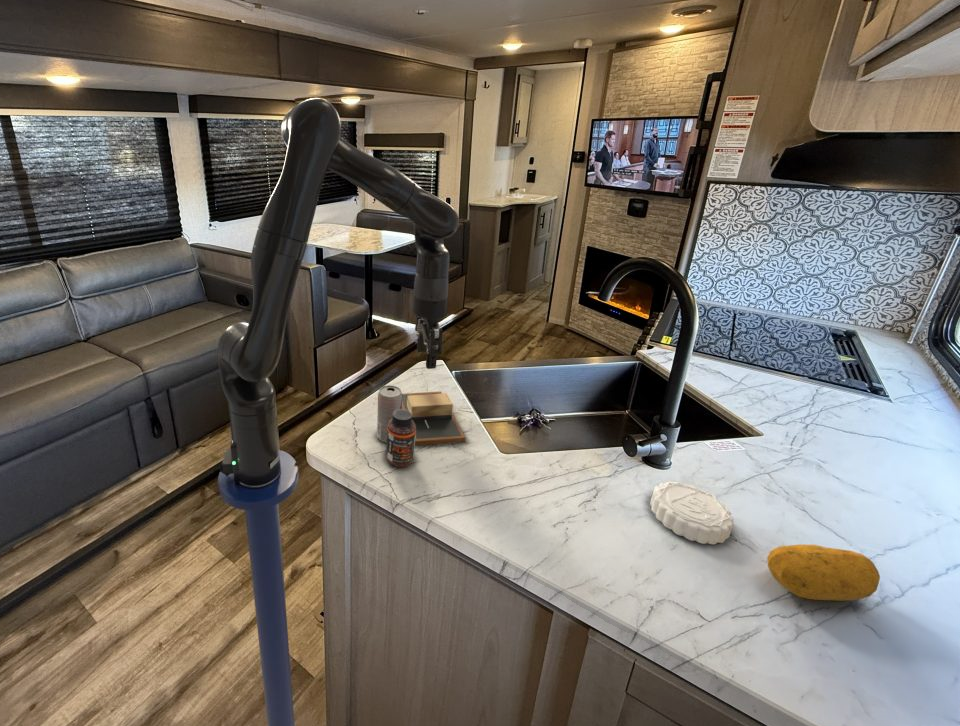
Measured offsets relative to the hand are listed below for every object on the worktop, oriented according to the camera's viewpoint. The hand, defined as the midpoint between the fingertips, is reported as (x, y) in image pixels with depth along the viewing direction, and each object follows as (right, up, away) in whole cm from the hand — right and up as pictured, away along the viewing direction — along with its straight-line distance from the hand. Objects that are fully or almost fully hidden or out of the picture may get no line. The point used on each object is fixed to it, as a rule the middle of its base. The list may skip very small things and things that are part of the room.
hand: (426, 359), depth 107 cm
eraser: (+1, -14, +5) cm, 15 cm away
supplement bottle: (-7, -21, -9) cm, 23 cm away
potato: (+54, -31, -37) cm, 72 cm away
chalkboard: (+1, -15, +5) cm, 16 cm away
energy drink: (-9, -18, -1) cm, 20 cm away
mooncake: (+44, -26, -24) cm, 57 cm away
